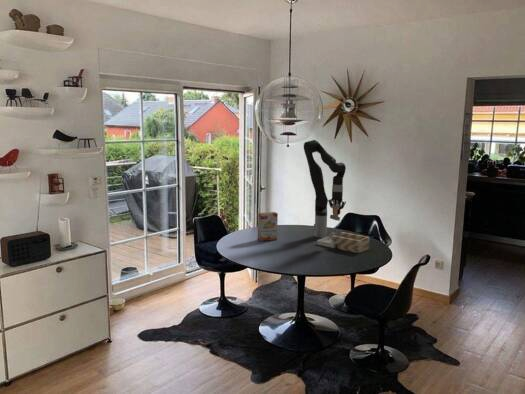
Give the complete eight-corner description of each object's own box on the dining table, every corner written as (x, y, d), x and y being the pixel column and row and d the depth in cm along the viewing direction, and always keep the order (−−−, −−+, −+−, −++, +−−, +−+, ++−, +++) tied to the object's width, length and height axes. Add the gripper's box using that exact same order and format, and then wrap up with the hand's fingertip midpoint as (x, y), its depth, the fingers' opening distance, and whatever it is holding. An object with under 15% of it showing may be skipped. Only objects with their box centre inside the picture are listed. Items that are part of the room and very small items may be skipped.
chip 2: (333, 244, 328) (328, 243, 330) (336, 243, 331) (331, 242, 333) (333, 239, 327) (329, 238, 330) (336, 238, 330) (331, 237, 333)
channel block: (331, 247, 323) (331, 235, 321) (341, 243, 334) (342, 231, 333) (358, 253, 309) (359, 241, 308) (368, 248, 320) (369, 236, 319)
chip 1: (329, 238, 329) (329, 233, 328) (332, 237, 332) (332, 232, 331) (334, 239, 326) (334, 234, 326) (337, 238, 329) (337, 233, 329)
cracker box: (260, 241, 336) (260, 214, 332) (257, 239, 341) (257, 212, 338) (277, 240, 341) (277, 213, 337) (274, 238, 347) (274, 211, 343)
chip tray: (316, 244, 330) (316, 240, 329) (328, 240, 342) (328, 236, 342) (334, 248, 321) (334, 244, 320) (345, 243, 333) (345, 239, 332)
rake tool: (329, 218, 322) (332, 203, 323) (334, 219, 328) (337, 206, 329) (334, 218, 320) (337, 204, 321) (339, 220, 326) (342, 206, 327)
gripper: (326, 190, 324) (325, 213, 327) (343, 192, 315) (342, 216, 318) (331, 188, 329) (330, 212, 332) (348, 191, 321) (347, 214, 324)
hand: (336, 214), depth 325 cm, fingers closed on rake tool, 3 cm apart
